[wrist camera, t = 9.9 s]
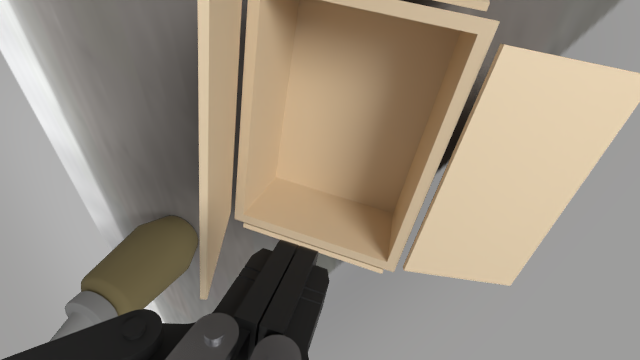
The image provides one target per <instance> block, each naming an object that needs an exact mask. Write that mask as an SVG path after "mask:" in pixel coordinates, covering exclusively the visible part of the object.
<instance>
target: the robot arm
mask: <svg viewBox="0 0 640 360" xmlns="http://www.w3.org/2000/svg"><path fill="white" fill-rule="evenodd" d="M317 257H318V251H316V250H313V249H310V248H307V247H304V246H299V245H297V244H294V243H291V242H288V241H285V240H282V239H281V240H280V241H279V242H278V244H277V245H276V247H275V249H274V250H273V251H270V250H267V249H264V248H263V249H261V250H260V251H258V252H257V253H255V254H254V255H252V256H251V258H250V259H249V261H248V262H247V264H246V265H245V268H243V270H242V271H241V273H240V274H239V276H238V277H237V278H236V280H235V281H234V283H233V284H232V286H231V287H230V289H229V290H228V292H227V293H226V295H225V296H224V297H223V299H222V300H221V302H220V303H219V305H218V306H217V308H216V309H215V310H214V312H213V313H212V314H208V315H206V316H204V317H202V318H200V319H199V320H198V321H197V322H195V323H191V324H167V323H162V321H161V318H160V316H159V315H158V314H157V313H155V312H154V311H151V310H147V309H139V310H134V311H130V312H128V313H125V314H122V315H120V316H117V317H114V318H112V319H109V320H106V321H103V322H101V323H98V324H95V325H93V326H90V327H87V328H85V329H82V330H79V331H77V332H74V333H71V334H69V335H66V336H63V337H61V338H58V339H55V340H53V341H50V342H48V343H45V344H42V345H39V346H37V347H34V348H31V349H29V350H26V351H23V352H21V353H18V354H15V355H13V356H10V357H7V358H5V359H2V360H309V358H308V350H309V347H310V344H311V341H312V338H313V335H314V332H315V328H316V326H317V322H318V319H319V316H320V313H321V310H322V307H323V303H324V299H325V295H326V292H327V288H328V284H329V278H328V271H327V269H325V268H322V267H319V266H316V262H317Z"/></svg>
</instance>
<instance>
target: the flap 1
mask: <svg viewBox="0 0 640 360" xmlns="http://www.w3.org/2000/svg"><path fill="white" fill-rule="evenodd" d="M241 8H242V0H198V92H199V213H200V299H206V300H207V297H208V294H209V290H210V286H211V283H212V279H213V275H214V272H215V268H216V264H217V261H218V257H219V253H220V250H221V246H222V242H223V239H224V235H225V231H226V227H227V224H228V220H229V216H230V213H231V197H232V178H233V159H234V141H235V122H236V103H237V84H238V65H239V46H240V27H241Z"/></svg>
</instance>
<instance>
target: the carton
mask: <svg viewBox="0 0 640 360" xmlns="http://www.w3.org/2000/svg"><path fill="white" fill-rule="evenodd" d="M434 1H439V2H444V3H449V4H453V5H458V6H463V7H468V8H473V9H478V10H482V11H487V9H488V6H489V4H490V2H489V0H434ZM499 22H500V21H495V20H491V19H486V18H481V17H476V16H472V15H467V14H462V13H457V12H453V11H448V10H443V9H438V8H434V7H429V6H424V5H419V4H415V3H410V2H405V1H400V0H248V6H247V23H246V39H245V55H244V72H243V88H242V104H241V121H240V137H239V153H238V170H237V186H236V202H235V219H236V220H239V221H242V222H244V225H243V227H244V228H247V229H250V230H253V231H256V232H259V233H262V234H265V235H268V236H271V237H274V238H277V239H280V240H281V239H282V240H285V241H288V242H291V243H294V244H297V245H299V246H304V247H307V248H310V249H313V250H316V251H318V252H319V253H321V254H324V255H327V256H330V257H333V258H336V259H339V260H342V261H345V262H348V263H351V264H354V265H357V266H360V267H363V268H366V269H369V270H372V271H375V272H378V273H381V274H382V273H383V269H385V270H388V271H392V272H394V271H395V268H396V266H397V264H398V261H399V259H400V256H401V254H402V252H403V249H404V247H405V245H406V242H407V240H408V237H409V235H410V233H411V230H412V228H413V226H414V223H415V221H416V218H417V216H418V214H419V212H420V209H421V207H422V204H423V202H424V200H425V197H426V195H427V193H428V190H429V188H430V185H431V183H432V181H433V178H434V176H435V174H436V171H437V169H438V167H439V164H440V162H441V160H442V157H443V155H444V152H445V150H446V148H447V145H448V143H449V141H450V138H451V136H452V134H453V131H454V129H455V126H456V124H457V122H458V119H459V117H460V115H461V112H462V110H463V108H464V105H465V103H466V100H467V98H468V96H469V93H470V91H471V89H472V86H473V84H474V82H475V79H476V77H477V74H478V72H479V70H480V67H481V65H482V63H483V60H484V58H485V56H486V53H487V51H488V48H489V46H490V44H491V41H492V39H493V37H494V34H495V32H496V30H497V27H498V25H499Z"/></svg>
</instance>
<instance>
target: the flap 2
mask: <svg viewBox="0 0 640 360" xmlns="http://www.w3.org/2000/svg"><path fill="white" fill-rule="evenodd" d="M639 102H640V73H637V72H631V71H627V70H622V69H618V68H612V67H608V66H603V65H598V64H594V63H589V62H584V61H580V60H575V59H570V58H566V57H561V56H556V55H551V54H547V53H542V52H537V51H533V50H528V49H523V48H518V47H514V46H509V45H504V44H500V46H499V48H498V51H497V53H496V55H495V58H494V60H493V62H492V64H491V67H490V69H489V71H488V73H487V76H486V78H485V80H484V83H483V85H482V87H481V89H480V92H479V94H478V96H477V99H476V101H475V103H474V105H473V108H472V110H471V112H470V115H469V117H468V119H467V121H466V124H465V126H464V128H463V131H462V133H461V135H460V137H459V140H458V142H457V144H456V147H455V149H454V151H453V153H452V156H451V158H450V160H449V163H448V165H447V167H446V169H445V172H444V174H443V176H442V179H441V181H440V183H439V185H438V188H437V190H436V192H435V195H434V197H433V199H432V202H431V204H430V206H429V208H428V211H427V213H426V215H425V217H424V220H423V222H422V224H421V227H420V229H419V231H418V233H417V236H416V238H415V240H414V243H413V245H412V247H411V249H410V252H409V254H408V256H407V259H406V261H405V263H404V265H403V269H404V271H410V272H417V273H424V274H431V275H438V276H446V277H452V278H459V279H466V280H473V281H481V282H487V283H494V284H502V285H509V286H510V285H511V284H512V283H513V281H514V280H515V278H516V277H517V276H518V274H519V273H520V271H521V270H522V269H523V267H524V265H525V264H526V263H527V261H528V260H529V259H530V257H531V256H532V254H533V253H534V251H535V250H536V249H537V247H538V246H539V244H540V243H541V241H542V240H543V239H544V237H545V236H546V234H547V233H548V231H549V230H550V229H551V227H552V226H553V224H554V223H555V222H556V220H557V219H558V217H559V216H560V214H561V213H562V212H563V210H564V209H565V207H566V206H567V204H568V203H569V202H570V200H571V199H572V197H573V196H574V195H575V193H576V192H577V190H578V189H579V187H580V186H581V185H582V183H583V182H584V180H585V179H586V178H587V176H588V175H589V173H590V172H591V170H592V169H593V168H594V166H595V165H596V163H597V162H598V160H599V159H600V158H601V156H602V155H603V153H604V152H605V150H606V149H607V148H608V146H609V145H610V143H611V142H612V141H613V139H614V138H615V136H616V135H617V133H618V132H619V131H620V129H621V128H622V126H623V125H624V124H625V122H626V121H627V119H628V118H629V116H630V115H631V114H632V112H633V111H634V109H635V108H636V106H637V105H638V103H639Z"/></svg>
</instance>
